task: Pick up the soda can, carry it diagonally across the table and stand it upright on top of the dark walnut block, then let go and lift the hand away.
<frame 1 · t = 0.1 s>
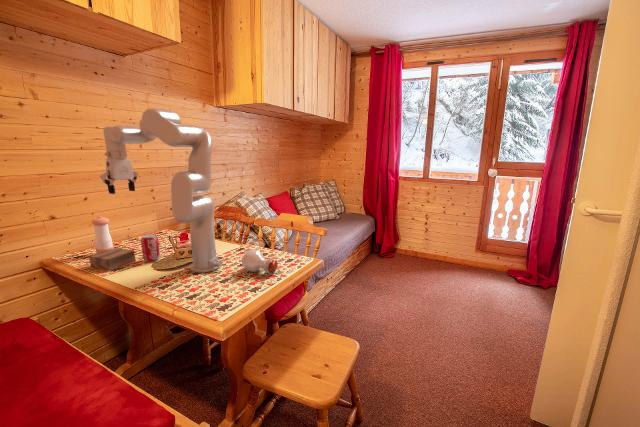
hand: (122, 192, 139), 31 cm above the table, tool pointing down, fingers open, 9 cm apart
walnut block: (113, 263, 135), on the table
soda can: (152, 261, 139), on the table
pepper shaker: (105, 254, 148), on the table
potion bottle: (259, 272, 126), on the table
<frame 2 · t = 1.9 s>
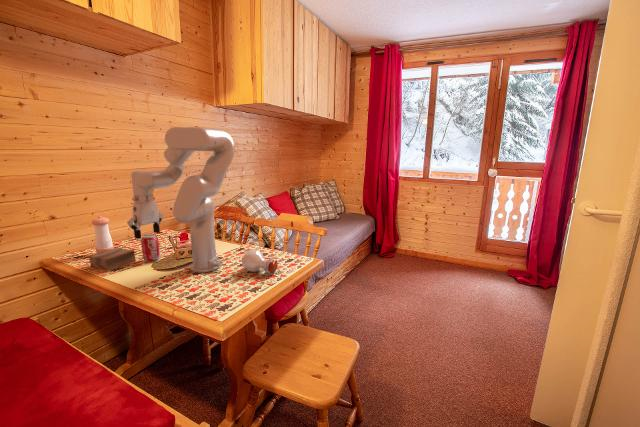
hand: (147, 235, 136), 12 cm above the table, tool pointing down, fingers open, 9 cm apart
nothing on the table moved.
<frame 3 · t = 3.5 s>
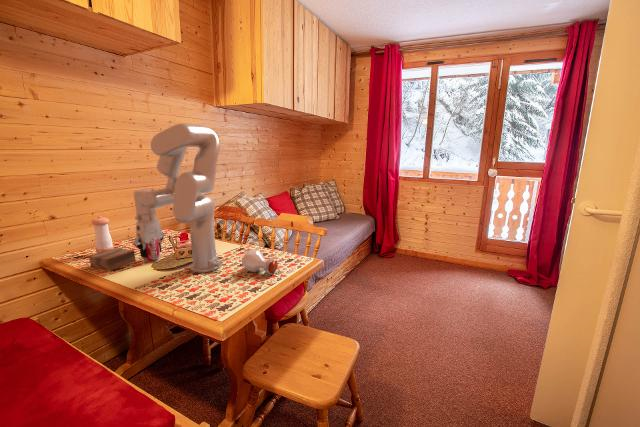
hand: (151, 254, 138), 3 cm above the table, tool pointing down, fingers closed on soda can, 6 cm apart
soda can: (152, 261, 139), on the table, touching gripper
everything else where it was.
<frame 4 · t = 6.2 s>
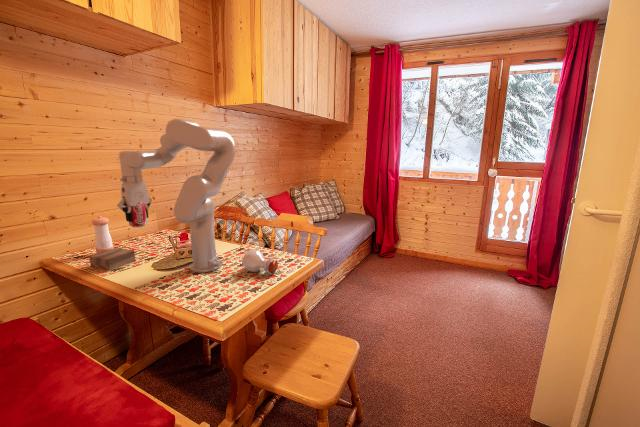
hand: (137, 219, 134), 20 cm above the table, tool pointing down, fingers closed on soda can, 6 cm apart
soda can: (138, 226, 134), point 17 cm above the table, touching gripper
everything else where it was.
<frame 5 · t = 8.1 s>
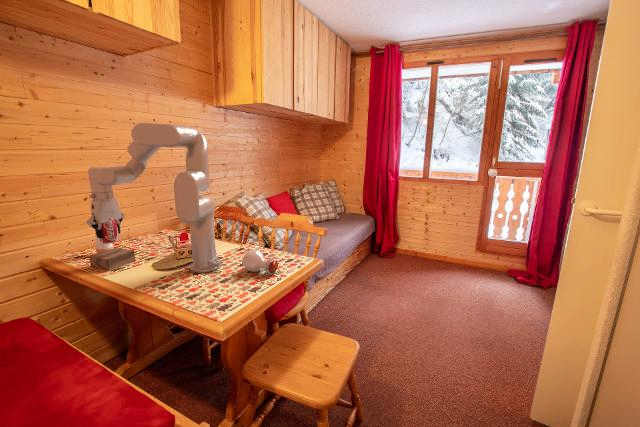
hand: (109, 235, 132), 13 cm above the table, tool pointing down, fingers closed on soda can, 6 cm apart
soda can: (110, 242, 133), point 10 cm above the table, touching gripper
everything else where it was.
when the fingers open (10 cm above the table, at t = 9.7 s): soda can drops 1 cm, resting on walnut block.
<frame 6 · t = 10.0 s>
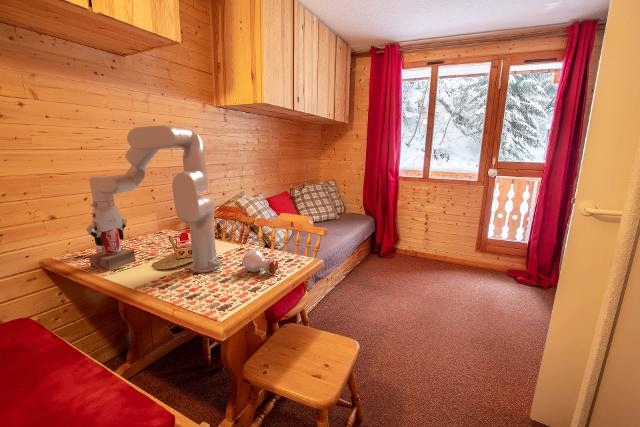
hand: (110, 242, 133), 10 cm above the table, tool pointing down, fingers open, 9 cm apart
soda can: (112, 253, 134), point 5 cm above the table, touching walnut block
everything else where it was.
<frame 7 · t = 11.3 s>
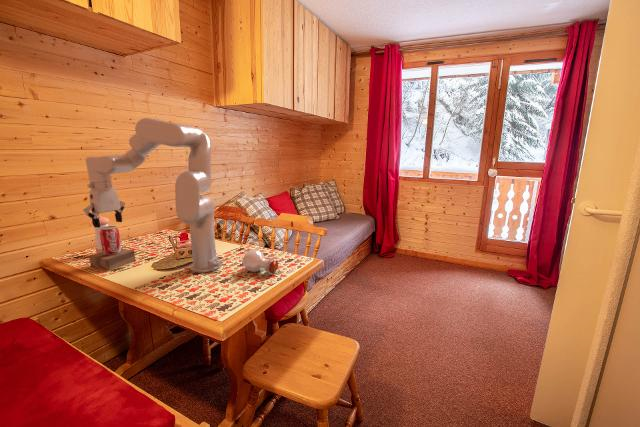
hand: (108, 224, 131), 18 cm above the table, tool pointing down, fingers open, 9 cm apart
nothing on the table moved.
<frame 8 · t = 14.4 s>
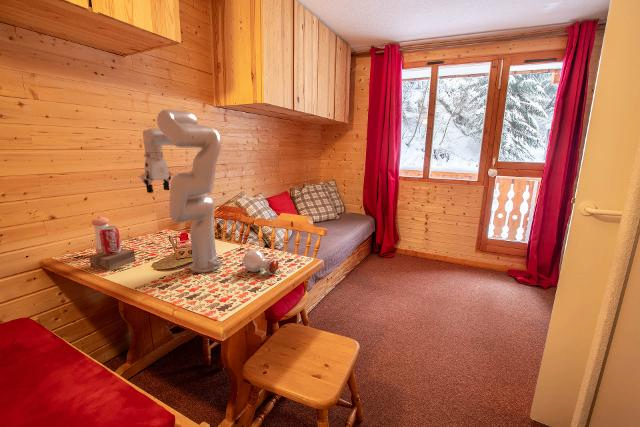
hand: (158, 191, 147), 30 cm above the table, tool pointing down, fingers open, 9 cm apart
nothing on the table moved.
at the end: soda can inside the target area on the walnut block (0.2 cm from its centre), point 4.8 cm above the walnut block's base; soda can tilted 0°; the gripper is holding nothing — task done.
